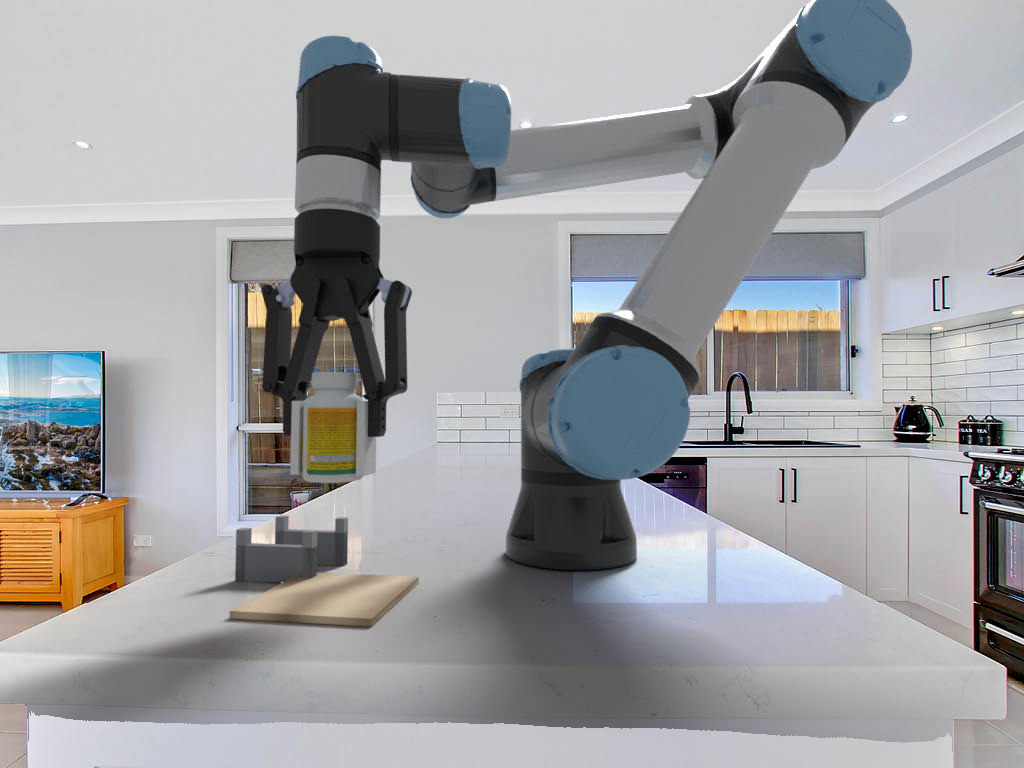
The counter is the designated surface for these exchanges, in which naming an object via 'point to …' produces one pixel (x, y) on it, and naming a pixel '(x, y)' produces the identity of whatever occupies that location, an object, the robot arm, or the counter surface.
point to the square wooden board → (328, 599)
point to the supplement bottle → (330, 428)
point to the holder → (290, 552)
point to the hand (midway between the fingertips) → (333, 473)
